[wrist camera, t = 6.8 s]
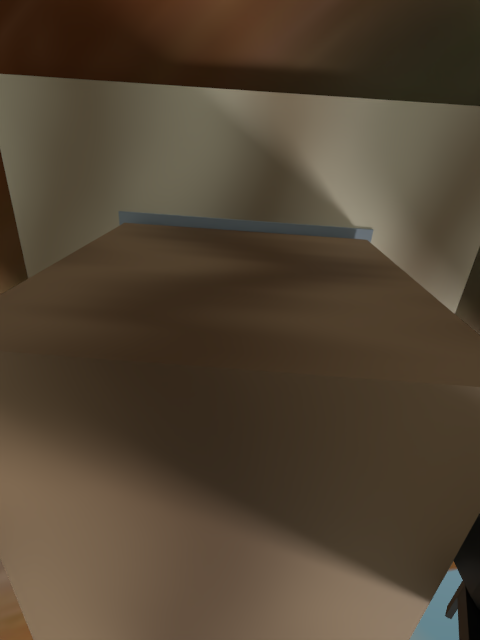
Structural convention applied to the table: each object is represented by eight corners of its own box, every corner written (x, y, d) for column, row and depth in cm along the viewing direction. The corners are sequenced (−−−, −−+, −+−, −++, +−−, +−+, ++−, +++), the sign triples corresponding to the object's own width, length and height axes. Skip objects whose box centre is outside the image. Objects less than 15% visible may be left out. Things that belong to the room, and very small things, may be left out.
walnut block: (366, 239, 12) (546, 392, 4) (325, 425, 15) (388, 676, 8) (124, 222, 12) (-87, 345, 4) (140, 411, 15) (37, 647, 8)
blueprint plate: (504, 113, 11) (532, 109, 10) (383, 467, 18) (391, 489, 17) (9, 79, 11) (-19, 71, 10) (78, 442, 19) (66, 462, 17)
